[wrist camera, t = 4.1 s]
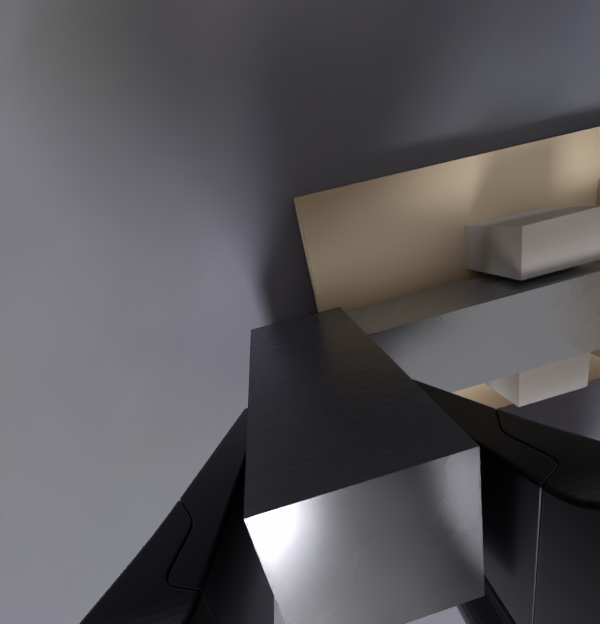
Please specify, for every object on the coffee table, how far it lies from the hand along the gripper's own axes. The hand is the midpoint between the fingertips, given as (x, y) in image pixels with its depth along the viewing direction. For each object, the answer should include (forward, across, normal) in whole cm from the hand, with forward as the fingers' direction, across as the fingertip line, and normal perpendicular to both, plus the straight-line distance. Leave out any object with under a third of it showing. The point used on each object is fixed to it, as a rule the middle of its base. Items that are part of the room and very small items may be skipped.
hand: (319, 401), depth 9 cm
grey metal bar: (+3, -10, 0) cm, 10 cm away
